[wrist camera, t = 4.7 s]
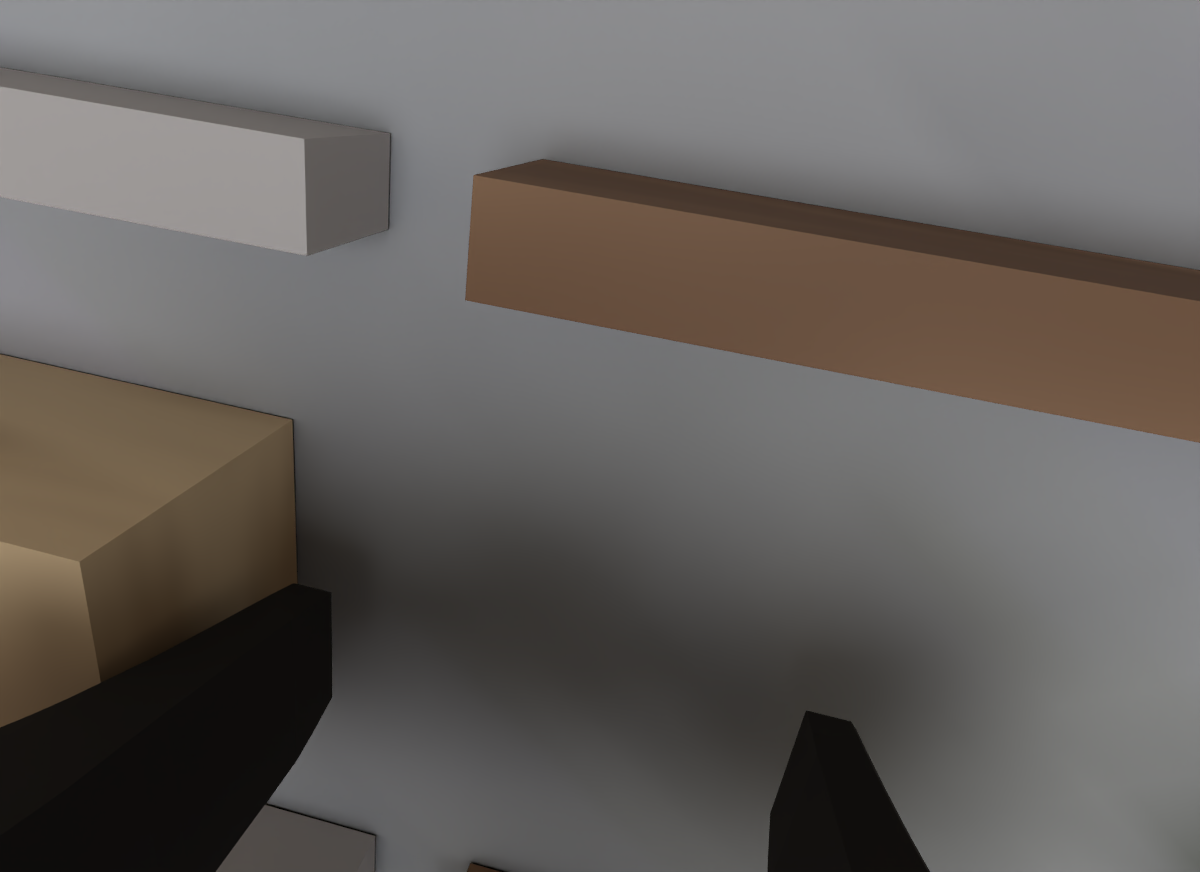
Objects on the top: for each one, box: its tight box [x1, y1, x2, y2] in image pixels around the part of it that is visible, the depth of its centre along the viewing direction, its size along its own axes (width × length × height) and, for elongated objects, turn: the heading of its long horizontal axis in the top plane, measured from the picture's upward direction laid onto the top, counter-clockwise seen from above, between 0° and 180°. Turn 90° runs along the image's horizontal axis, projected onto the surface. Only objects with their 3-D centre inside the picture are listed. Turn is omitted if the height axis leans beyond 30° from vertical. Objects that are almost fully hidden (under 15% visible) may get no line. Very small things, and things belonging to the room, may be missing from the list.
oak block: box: [0, 354, 297, 727], centre depth 11 cm, size 6×6×4 cm
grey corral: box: [0, 67, 390, 872], centre depth 12 cm, size 14×12×2 cm
